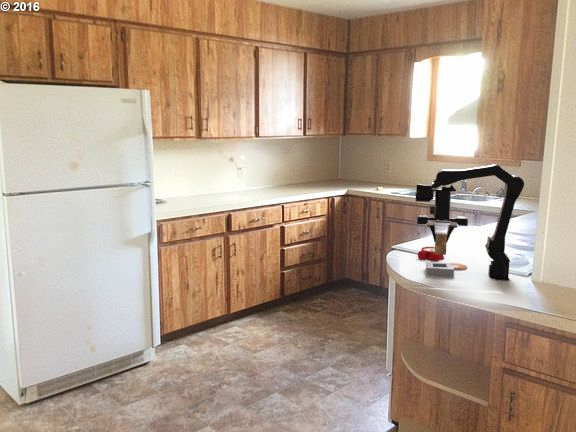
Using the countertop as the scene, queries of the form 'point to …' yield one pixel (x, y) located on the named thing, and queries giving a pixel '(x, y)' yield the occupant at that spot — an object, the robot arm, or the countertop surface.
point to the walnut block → (440, 243)
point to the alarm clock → (429, 254)
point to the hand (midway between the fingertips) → (440, 242)
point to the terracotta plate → (459, 266)
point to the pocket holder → (439, 269)
